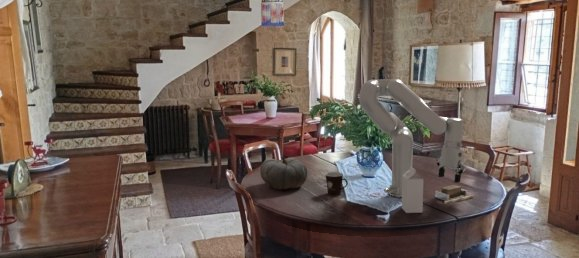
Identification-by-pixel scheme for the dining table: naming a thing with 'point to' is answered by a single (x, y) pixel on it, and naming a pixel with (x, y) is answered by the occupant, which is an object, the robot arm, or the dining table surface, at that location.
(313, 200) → the dining table surface
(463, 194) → the keeper
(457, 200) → the door edge strip
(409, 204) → the milk carton
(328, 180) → the coffee mug
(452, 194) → the brown rectangular block
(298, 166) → the gourd
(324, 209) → the dining table surface
